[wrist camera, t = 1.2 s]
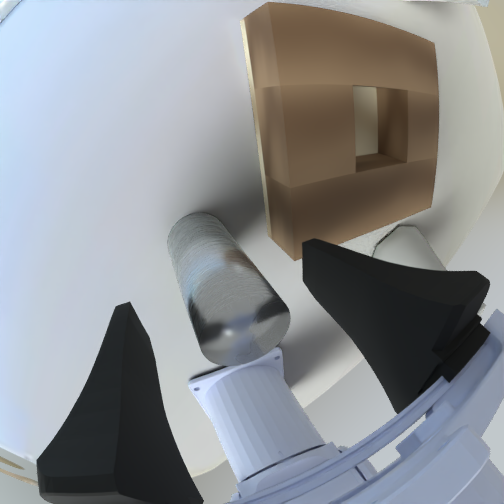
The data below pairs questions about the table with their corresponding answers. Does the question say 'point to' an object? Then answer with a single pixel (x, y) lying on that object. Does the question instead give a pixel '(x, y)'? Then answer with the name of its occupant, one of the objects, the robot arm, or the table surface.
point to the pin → (225, 293)
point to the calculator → (7, 7)
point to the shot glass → (461, 1)
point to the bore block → (339, 122)
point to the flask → (410, 251)
